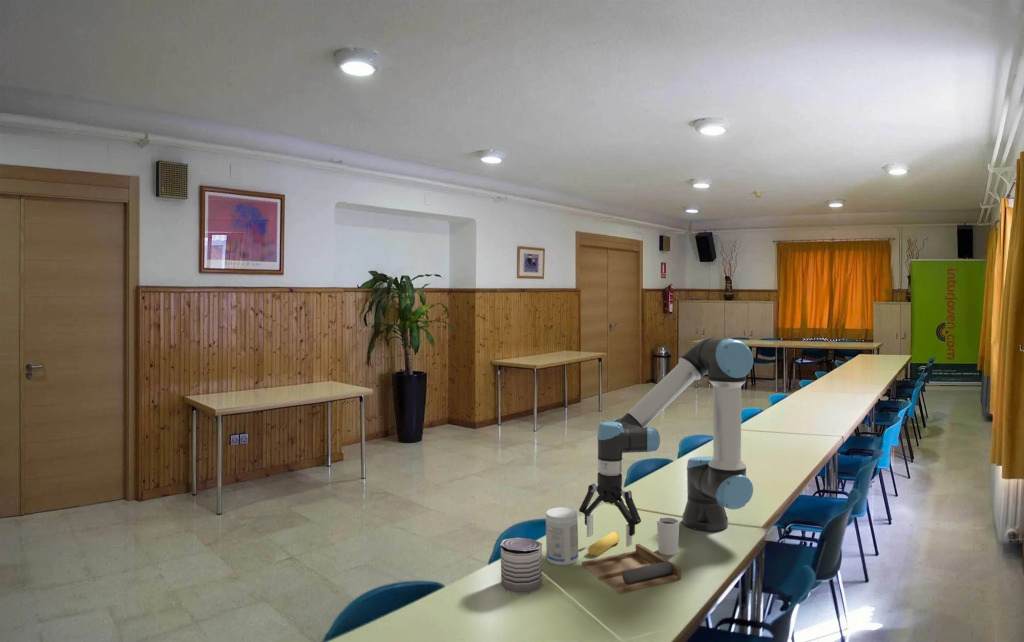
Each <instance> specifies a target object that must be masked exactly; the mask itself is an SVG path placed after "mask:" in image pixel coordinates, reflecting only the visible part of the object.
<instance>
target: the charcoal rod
mask: <svg viewBox="0 0 1024 642" xmlns="http://www.w3.org/2000/svg"><path fill="white" fill-rule="evenodd" d="M669 562H670V561H669ZM669 562H662V563H658V564H653V565H649V566H644V567H639V568H635V569H630V570H625V571H623V574H622V576H623V580H624V582H625V584H627V585H628V584H633V583H637V582H642V581H646V580H650V579H655V578H659V577H664V576H668V575H671V574H672V567H671V565H670V563H669Z"/></svg>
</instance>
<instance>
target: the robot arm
mask: <svg viewBox="0 0 1024 642" xmlns="http://www.w3.org/2000/svg"><path fill="white" fill-rule="evenodd" d="M751 350H752V349H750V347H749V346H747V344H746V343H744V342H742V341H741V340H737V339H734V338H721V337H713V336H711V337H706V338H704V339H702V340H700V341H698V342H696V343H695V344H694V345H693V346H692V347H690V348H689V349H688V350H686V352H684V354H683V355H681V357H680V358H679V359H678V364H676V365H675V367H674V368H672V369H671V370H670V371H669V372H668V373H667V374H666V375H665V376H664V377H663V378H662V379H661V380H660V381H659V382H658V383H657V384H655V386H653V387H652V388H651V389H650V390H649V392H647V393H646V394H645V395H644V396H643V397H641V399H640V400H639V401H638V402H637V403H636V404H635V405H634V406H633V407H631V408H630V410H628V411H627V412H626V413H625V414H624V415H623V416H622V417H617V418H615V419H613V420H611V421H603V422H600V423H599V424H598V427H597V471H598V472H597V485H596V484H595V483H592V484H590V485H588V488H587V493H586V495H585V497H584V499H583V501H582V503H581V505H580V506H579V509H578V511H579V512H580V513H582V514H583V515H584V525H585V526H586V537H588V538H589V537H591V536H593V535H594V513H593V514H592V512H593V511H594V510H595V509H596V508H597V506H599V505H600V503H602V502H603V503H609V504H610V505H615V506H616V508H618V510H619V512H620V513H621V515H622V516H623V517H624V519H625V521H626V522H627V524H625V525H626V526H625V537H626V538H625V547H627V548H628V547H630V546H631V545H633V536H635V534H636V526H637V525H639V524H640V523H641V522H642V519H641V516H640V514H639V512H638V509H637V507H636V505H635V502H634V500H633V495H632V490H627V491H624V490H623V489H622V486H623V474H622V472H623V454H629V453H630V454H633V453H650V452H656V451H658V449H659V448H660V445H661V437H660V433H659V431H658V430H657V428H656V427H649V426H648V425H649V424H650V423H651V422H653V420H654V419H656V417H657V416H659V415H660V414H661V413H662V411H664V410H665V409H666V408H667V407H668V406H669V405H670V404H671V403H673V401H674V400H675V399H676V398H677V397H678V396H679V395H680V394H681V393H683V391H685V390H686V389H687V388H688V387H689V386H690V385H691V384H693V382H694V381H697V380H698V381H699V380H701V379H702V378H703V377H704V376H705V375H707V380H708V382H709V383H710V384H711V385H712V401H713V402H712V417H713V418H712V419H713V421H712V429H713V430H712V432H713V433H712V434H713V435H712V441H713V442H712V451H713V452H712V454H713V455H712V456H705V455H704V456H694V457H690V458H688V460H687V465H686V470H687V471H686V473H687V474H686V480H687V482H686V483H687V484H686V485H687V486H686V487H687V498H686V499H687V501H686V503H685V507H684V511H683V513H682V517H681V518H682V519H681V520H682V521H681V522H682V524H683V525H684V526H685V527H687V528H690V529H692V530H696V531H705V532H716V531H717V532H718V531H721V530H725V529H727V528H728V527H729V518H728V516H727V512H726V509H728V510H732V511H733V510H735V511H736V510H739V509H740V510H741V509H742V508H744V507H746V505H747V504H748V503H749V502H750V501H751V499H752V497H753V494H754V485H753V482H752V481H751V480H750V478H749V477H748V476H747V465H746V464H745V463H744V462H743V460H742V386H743V385H744V384H745V383H746V382H747V375H748V374H749V373H750V371H751V370H752V369H753V365H754V357H753V356H754V355H753V352H752V351H751ZM595 492H597V494H598V496H597V497H596V498H595V500H594V501H593V502H592V503H591V504H590V502H591V500H592V498H593V496H594V495H595ZM623 499H624V500H625V501H624V500H623ZM625 503H626V504H625Z"/></svg>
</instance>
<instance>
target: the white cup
mask: <svg viewBox="0 0 1024 642" xmlns="http://www.w3.org/2000/svg"><path fill="white" fill-rule="evenodd" d="M656 530H657V548H658V549H657V550H658V553H659V554H661V555H664V556H665V555H667V556H674V555H677V554H678V553H679V552H678V551H679V534H680V532H679V531H680V520H679V519H677V518H675V517H672V516H662V517H658V518H657V519H656Z"/></svg>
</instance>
